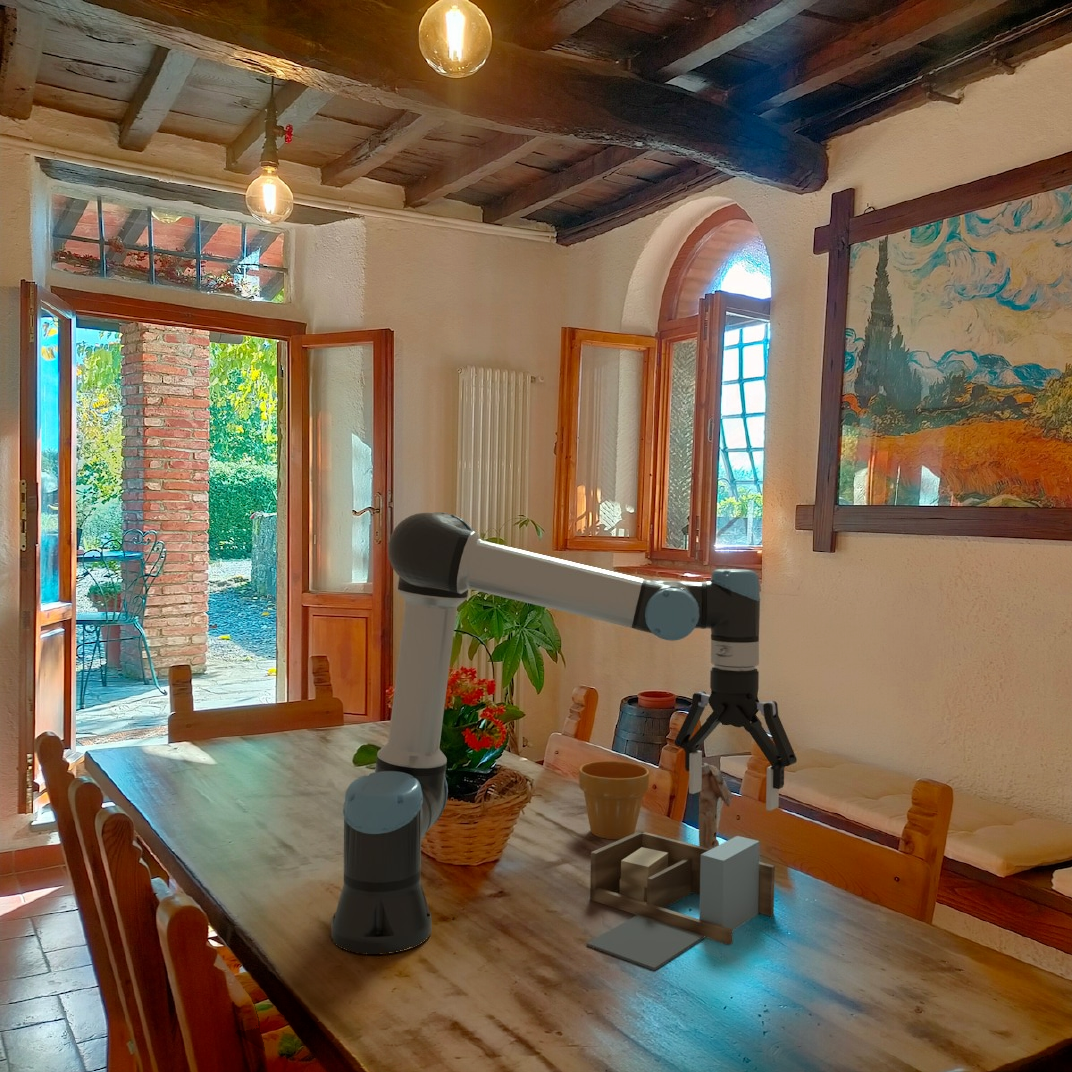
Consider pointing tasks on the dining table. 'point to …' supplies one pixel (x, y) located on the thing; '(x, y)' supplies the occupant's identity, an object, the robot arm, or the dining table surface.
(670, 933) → the mat
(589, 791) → the flower pot
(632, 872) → the offcut upper
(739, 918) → the grey rectangular block
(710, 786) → the figurine
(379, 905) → the robot arm
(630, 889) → the offcut lower
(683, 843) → the rack
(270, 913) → the dining table surface
